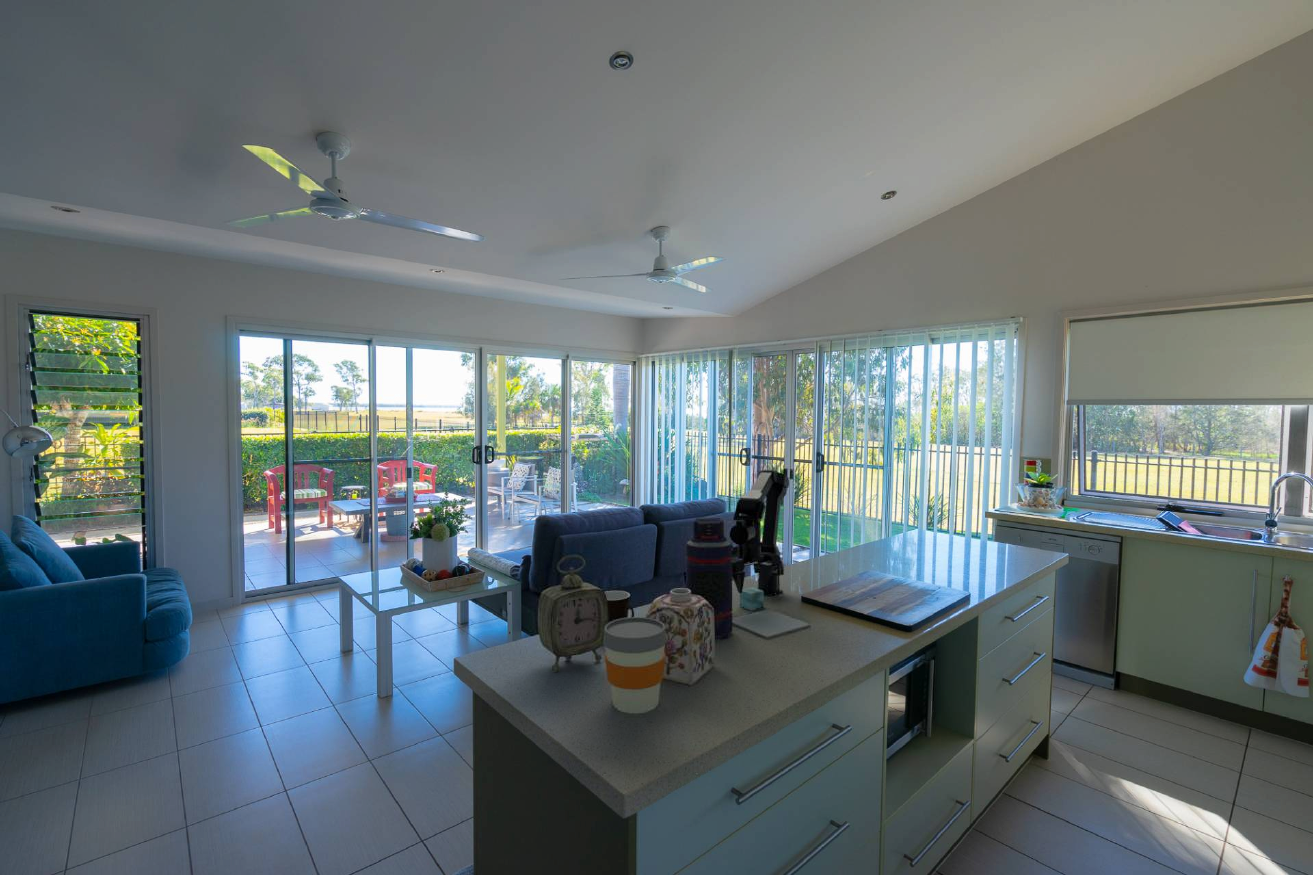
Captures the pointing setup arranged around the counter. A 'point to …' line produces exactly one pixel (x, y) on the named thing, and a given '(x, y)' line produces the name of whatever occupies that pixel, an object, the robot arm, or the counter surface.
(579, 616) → the tabletop clock
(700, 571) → the thermos flask
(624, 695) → the reusable coffee cup
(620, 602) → the coffee mug
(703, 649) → the decorative jar
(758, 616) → the slate pad
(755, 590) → the teal block
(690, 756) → the counter surface
